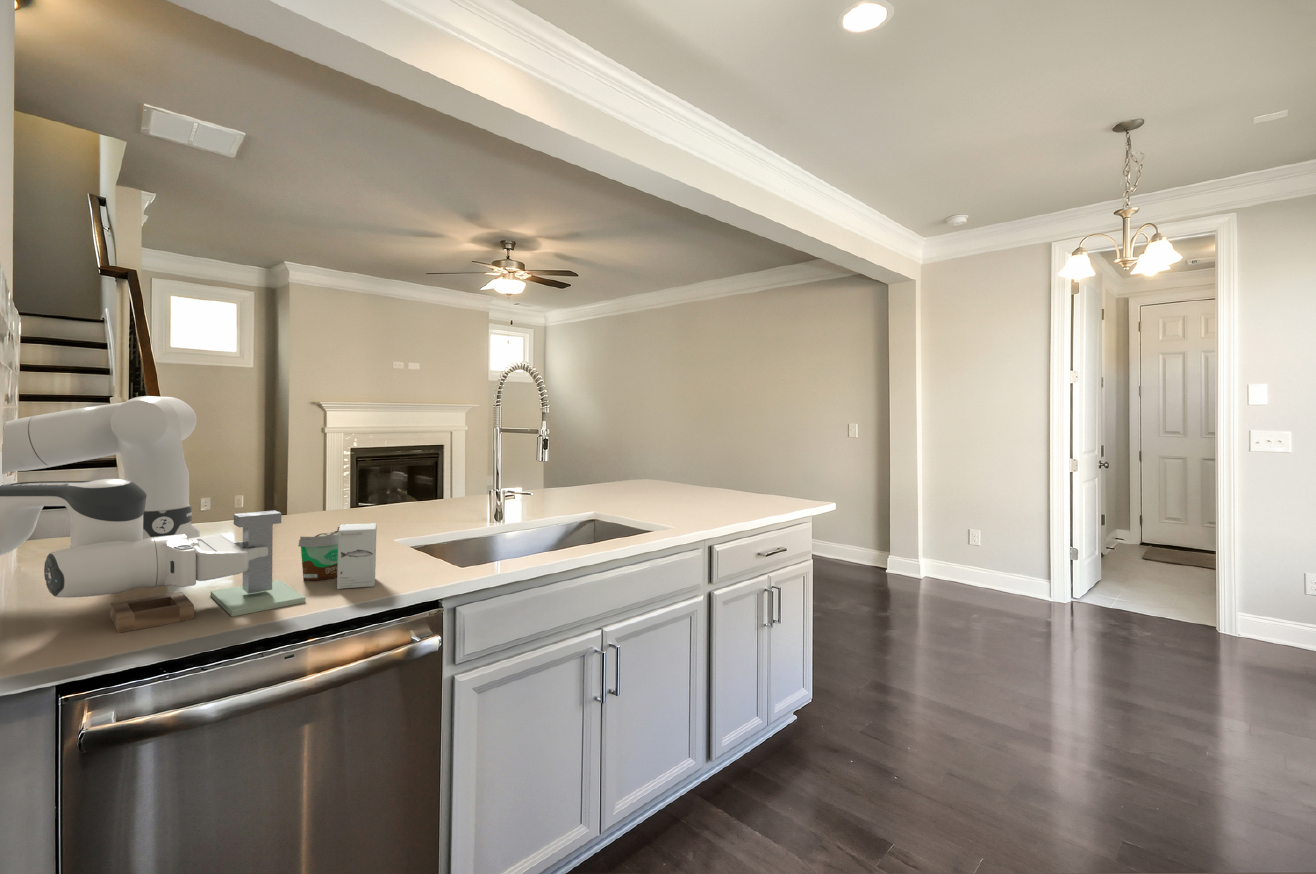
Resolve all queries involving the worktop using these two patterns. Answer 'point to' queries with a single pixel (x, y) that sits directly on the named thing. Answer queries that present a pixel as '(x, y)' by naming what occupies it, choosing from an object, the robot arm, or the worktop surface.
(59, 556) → the robot arm
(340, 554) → the supplement box
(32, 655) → the worktop surface
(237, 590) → the green mat
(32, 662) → the worktop surface
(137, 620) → the socket block
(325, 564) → the food container
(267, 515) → the t-key
